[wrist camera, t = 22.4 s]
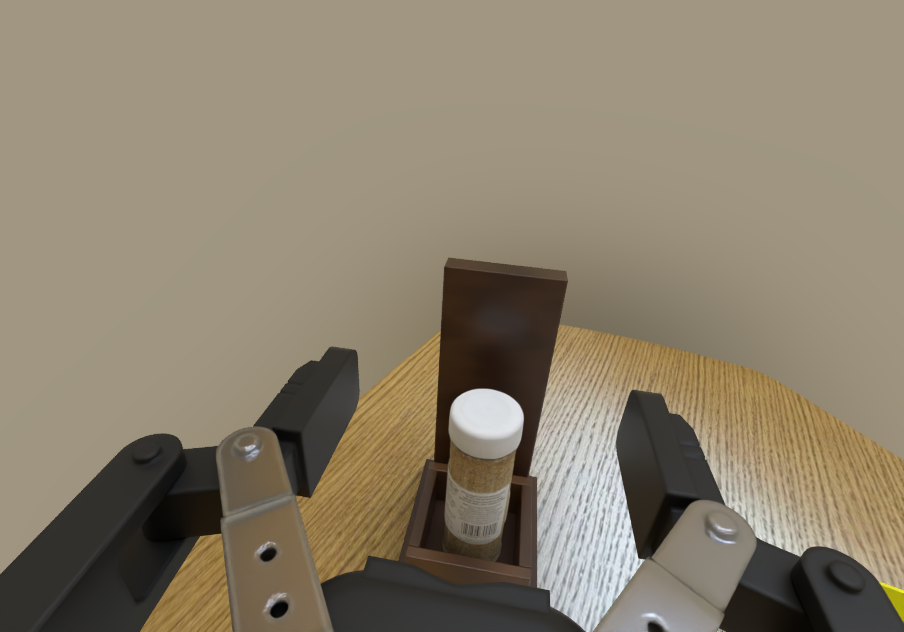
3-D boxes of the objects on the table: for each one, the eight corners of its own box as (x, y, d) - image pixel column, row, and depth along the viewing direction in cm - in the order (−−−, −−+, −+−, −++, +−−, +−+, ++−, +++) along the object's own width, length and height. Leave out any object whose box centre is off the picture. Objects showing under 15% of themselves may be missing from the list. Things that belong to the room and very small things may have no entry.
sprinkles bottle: (505, 527, 36) (529, 393, 29) (495, 583, 32) (520, 443, 26) (449, 512, 37) (459, 379, 30) (432, 565, 33) (441, 426, 26)
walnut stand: (390, 602, 32) (386, 346, 21) (426, 470, 42) (434, 253, 32) (533, 631, 31) (604, 377, 20) (534, 488, 41) (581, 270, 31)
